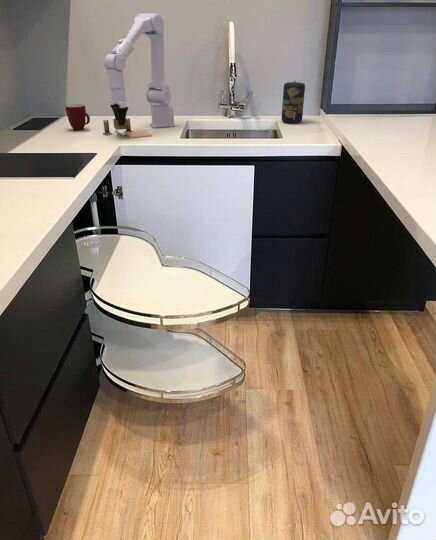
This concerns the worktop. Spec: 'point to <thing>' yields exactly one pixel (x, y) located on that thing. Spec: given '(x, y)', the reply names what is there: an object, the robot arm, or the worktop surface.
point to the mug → (77, 116)
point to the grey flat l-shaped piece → (119, 133)
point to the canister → (293, 102)
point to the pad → (138, 134)
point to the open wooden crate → (117, 126)
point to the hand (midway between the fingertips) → (120, 124)
